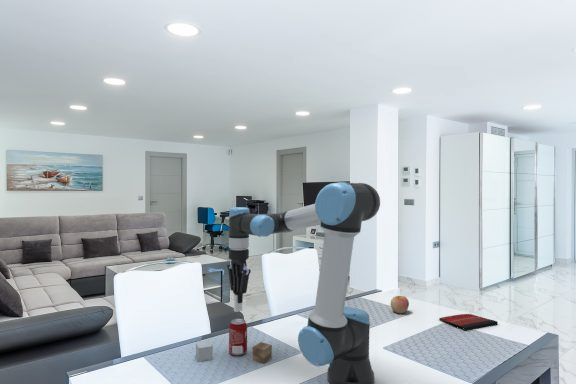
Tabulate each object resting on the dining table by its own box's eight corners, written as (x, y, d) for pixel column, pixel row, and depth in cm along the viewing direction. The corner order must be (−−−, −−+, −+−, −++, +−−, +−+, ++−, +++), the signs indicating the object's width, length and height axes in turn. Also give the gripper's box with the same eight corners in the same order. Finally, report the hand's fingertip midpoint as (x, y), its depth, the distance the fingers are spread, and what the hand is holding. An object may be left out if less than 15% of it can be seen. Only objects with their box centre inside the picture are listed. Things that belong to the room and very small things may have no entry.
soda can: (243, 357, 142) (244, 324, 142) (226, 355, 144) (226, 323, 143) (249, 349, 149) (249, 318, 149) (232, 348, 150) (232, 317, 150)
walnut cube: (271, 358, 142) (271, 344, 142) (263, 363, 138) (264, 349, 137) (260, 355, 144) (260, 341, 144) (252, 360, 140) (252, 346, 140)
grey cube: (212, 359, 140) (212, 346, 140) (198, 362, 138) (198, 348, 138) (209, 354, 145) (209, 340, 145) (195, 356, 143) (196, 342, 143)
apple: (410, 311, 196) (410, 295, 196) (405, 316, 189) (405, 300, 189) (393, 308, 201) (393, 293, 201) (388, 313, 194) (388, 297, 193)
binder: (497, 321, 179) (464, 327, 170) (497, 326, 179) (464, 332, 170) (469, 312, 193) (436, 317, 185) (469, 316, 193) (437, 322, 185)
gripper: (257, 249, 143) (256, 313, 143) (238, 245, 153) (237, 304, 153) (239, 252, 138) (238, 317, 139) (221, 247, 148) (220, 308, 149)
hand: (238, 310), depth 146 cm, fingers closed
